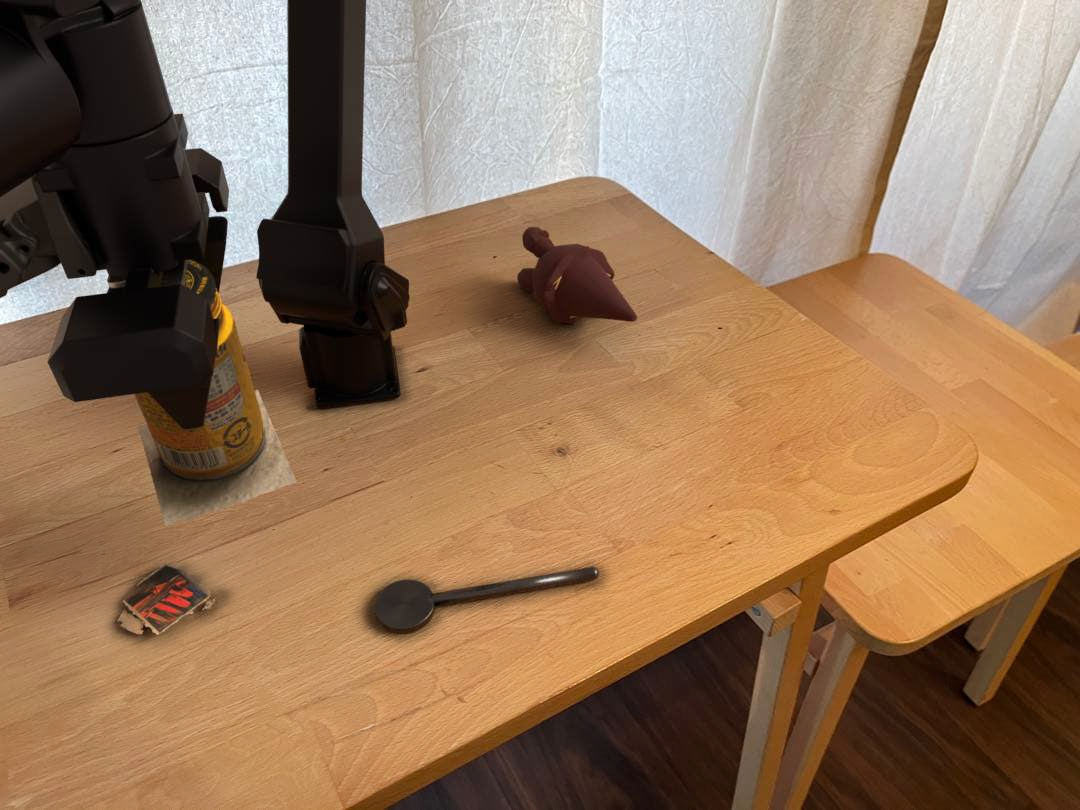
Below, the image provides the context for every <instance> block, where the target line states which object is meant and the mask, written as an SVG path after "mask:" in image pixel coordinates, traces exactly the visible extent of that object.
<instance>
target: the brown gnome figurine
mask: <svg viewBox="0 0 1080 810" xmlns="http://www.w3.org/2000/svg"><path fill="white" fill-rule="evenodd" d="M521 238H522V246H523V247H524V249H525V250H527V251H528V252H529V253H531V254H533V255H534V256H535V257H536V258H537V262H536V264H535V267H523V268H522V269H521V270H520V271H519V272H518V273H517V276H516V278H517V283H518V285H519V286H521V287H522V288H523V289H524V290H526V291H527V292H530V293H534V296H535V299H536V301H537V302H538V304H540V305H541V307H543V308H544V309H545V310H546V311H547V313H549V316H550V318H551V320H553V321H555V322H560V323H565V324H570V325H575V324H577V323H578V322H580V321H581V320H582V319H585V318H589V319H600V320H601V319H602V320H612V321H621V322H636V321H637V319H638V315H637V314H636V312H635V310H634V309H633V307H632V306H631V305H630V303H629V302H628V301H627V300H626V298H625V297H624V295H623V293H622V292H621V291H620V289H619V288H618V287H617V286H616V284H615V283H614V281H613V279H614V277H615V271H614V269H613V268H612V266H611V265H610V263H609V262H608V259H607V256H606V255H605V254H604V252H603V251H602V250H599V249H595V248H592V247H590V246H588V245H584V244H580V243H568V244H560V245H555V244H554V242H553V241H552V240H551V238H550V233H549V232H548V231H547V230H546V229H541V228H540V227H539V226H529V227H526V229H525V230H524V231H523V233H522V235H521Z"/></svg>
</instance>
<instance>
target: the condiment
mask: <svg viewBox="0 0 1080 810" xmlns="http://www.w3.org/2000/svg"><path fill="white" fill-rule="evenodd" d="M216 285H217V284H216V283H215V280H214V277H213V276H212V275H211V273H210V272H209V270H208V269H207V268H206V267H205V266H203V265H201V264H199V263H197V262H196V261H194V260H188V266H187V273H186V280H185V287H187V288H189V289H191V290H192V291H194V292H196V293H198V294H200V295H202V296H203V297H205V298H207V300H208V303H209V306H210V310H211V313H212V316H213V319H215V318H219V320H220V324H219V336H218V348H217V355H216V358H215V363H214V373H213V376H212V380H211V386H210V390H209V396H208V402H207V408H206V414H205V420H204V425H203V426H202V427H199V428H192V429H182V428H181V427H180V426H179V425H178V424H177V423H176V422H175V421H174V420H173V419H172V418H171V417H170V415H169V414H168V413H167V412H166V411H165V410H164V409H163V408H162V407H161V406H160V405H159V404H158V403H157V402H156V401H155V400H154V399H153V398H152V397H151V396H150V395H149V394H148V392H145V393H138V394H134V396H135V399H136V401H137V405H138V406H139V408H140V411H141V414H142V416H143V418H144V421H145V424H142V425H139V426H137V427H138V433H139V435H140V439H141V442H142V446H143V450H144V453H145V457H146V461H147V464H148V468H149V472H150V476H151V481H152V483H153V486H154V490H155V494H156V497H157V501H158V504H159V508H160V513H161V516H162V519H163V522H164V526H165V527H168V526H171V525H174V524H177V523H180V522H186V521H189V520H191V519H195V518H199V517H202V516H205V515H206V514H209V513H214V512H217V511H221V510H223V509H226V508H229V507H231V506H234V505H237V504H240V503H243V504H245V503H246V502H248V501H249V500H252V499H254V498H256V497H259V496H262V495H264V494H268V493H271V492H275V491H277V490H278V489H281V488H284V487H286V486H289V485H290V486H291V485H293V484H296V483H298V482H297V479H296V477H295V474H294V471H293V469H292V466H291V465H290V462H289V460H288V457H287V455H286V453H285V451H284V447H283V446H282V443H281V441H280V439H279V437H278V434H277V432H276V429H275V427H274V425H273V421H272V420H271V418H270V415H269V413H268V411H267V408H266V406H265V403H264V401H263V399H262V396H261V394H260V391H259V389H256V390H255V389H254V384H253V381H252V378H251V372H250V369H249V367H248V362H247V360H246V357H245V355H244V351H243V347H242V342H241V341H240V337H239V334H238V327H237V325H236V320H235V319H234V317H233V314H232V312H231V311H230V309H229V308H228V307H227V306H226V305H225V304H223V302H222V298H221V295H220V292H219V293H218V292H217V289H216ZM124 289H125V287H119V288H110V287H109V286H108V289H107V291H106V293H112V292H120V291H124Z"/></svg>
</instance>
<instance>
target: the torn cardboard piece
mask: <svg viewBox="0 0 1080 810" xmlns="http://www.w3.org/2000/svg"><path fill="white" fill-rule="evenodd" d="M211 596H212V595H211V591H210V590H209V589H208V588H205V587H204V586H202V583H199V582H197V580H195V579H193V578H191V577H190V575H189V574H188V573H187V571H185V570H183V569H181V568H176V567H172V566H170V565H167V564H166V563H165V564H163V565H162V566H160V567H158V568H157V569H156V570H154V571H152V573H149V575H148V576H146V577H144V578H143V579H142V580H141V581H140V582H138V583H135V587H134V588H133V589H132V591H131V592H130V593H129V594H128V596H126V598H124V600H123V601H122V603H124V605H125V606H126V607H127V608H128V610H129V611H130V612H132V613H130V612H129V613H128V610H127V609H124V610H123V612H122V613H121V614H120V616H119V618H118V619H117V622H121V623H120V624H119V627H122V629H123V630H125V629H126V630H127V631H129V632H131V633H134V634H136V635H142V634H143V633H144V632H145V630H143V629H144V627H146V628H150V629H151V631H152V633H153V634H156V636H159V635H161V634H162V633H165V632H166V630H168V629H169V628H170V627H171V626H173V625H175V624H176V623H178V622H179V621H180V619H183V617H185V616H187V615H191V614H194V610H195V609H196V608H197V607H198V606H199V605H202V604H203V603H205V602H206V603H205V605H204V606H203V608H202V610H209V609H210V608H211V607H212V606H213V605H214V604H215V602H216V601H217V600H218V598H220V595H218V596H215V597H214V598H212V599H210V600H208V599H209V598H210V597H211ZM134 615H135V616H134ZM137 617H138V618H137Z"/></svg>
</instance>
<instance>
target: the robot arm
mask: <svg viewBox="0 0 1080 810" xmlns="http://www.w3.org/2000/svg"><path fill="white" fill-rule="evenodd" d="M286 8H287V9H286V10H287V11H286V12H287V14H286V15H287V16H286V17H287V18H286V19H287V21H286V23H287V24H286V25H287V26H286V27H287V35H286V36H287V37H286V39H287V43H286V44H287V193H286V195H285V197H284V198H283V199H282V201H281V203H279V206H278V207H277V208H276V210H275V212H274V214H273V215H272V217H271V218H262V219H261V221H260V223H259V225H258V226H257V230H256V236H257V245H258V265H257V271H256V276H255V277H256V280H258V285H259V288H260V292H261V294H262V298H263V300H264V301H265V302H266V303H268V304H269V306H270V307H271V309H272V311H273V312H274V314H275V316H276V317H277V318H278V321H279V322H280V323H281V324H286V325H289V324H292V325H299V326H301V327H300V328H299V330H298V332H299V333H298V347H299V352H300V358H301V362H302V366H303V367H302V368H303V371H304V375H305V379H306V384H307V387H308V388H309V389H310V390H313V389H314V402H315V406H316V408H318V409H327V408H328V409H329V408H334V407H335V408H336V407H342V406H350V405H351V406H352V405H357V404H358V405H359V404H365V403H373V402H380V401H388V400H394V399H398V398H400V397H401V396H402V392H401V391H402V390H401V385H400V377H399V371H398V370H399V369H398V363H397V355H396V348H395V346H394V345H393V338H392V332H396V330H400V329H402V328H405V327H406V325H407V324H408V317H407V309H408V308H409V304H410V303H409V301H410V300H411V299H410V298H411V295H410V281H409V279H408V278H406V277H405V276H403V275H401V274H400V273H399V272H397V271H395V270H394V269H393V268H391V267H389V266H387V265H386V257H385V237H384V234H383V231H382V230H381V228H380V226H379V224H378V222H377V220H376V218H375V217H374V214H373V213H372V211H371V209H370V207H369V206H368V204H367V202H366V200H365V198H364V197H363V154H364V153H363V152H364V151H363V150H364V149H363V148H364V114H365V113H364V109H365V103H364V102H365V71H366V69H365V67H366V65H365V64H366V63H365V61H366V29H367V28H366V25H367V24H366V23H367V18H366V17H367V0H286ZM187 127H188V126H187V124H186V121H185V117H184V113H183V112H182V113H175V112H174V110H173V107H172V104H171V100H170V97H169V92H168V90H167V86H166V82H165V79H164V75H163V72H162V68H161V64H160V62H159V59H158V55H157V51H156V48H155V44H154V41H153V37H152V34H151V30H150V27H149V23H148V20H147V16H146V13H145V10H144V5H143V3H142V0H0V299H1V298H4V297H6V296H7V294H8V291H9V290H11V289H13V288H15V287H18V286H19V285H22V284H24V283H26V282H28V281H30V280H33V279H35V278H37V277H40V275H43V274H45V273H48V272H50V271H52V270H54V269H55V268H57V267H58V266H59V265H61V267H62V269H63V271H64V274H65V276H66V279H67V280H73V279H80V278H82V279H83V278H89V277H95V276H96V275H97V273H98V271H106V273H107V275H108V276H107V279H106V281H107V284H108V288H109V287H110V288H119V287H125V289H124V291H120V292H112V293H107V292H105V293H95V294H87V295H80V296H76V297H75V298H74V299H73V301H72V302H71V304H70V305H69V306H68V308H67V309H66V310H65V311H64V313H63V314H62V316H61V318H60V322H59V325H58V326H57V327H58V328H57V331H56V333H55V337H54V340H53V343H52V347H51V350H50V352H49V356H48V359H47V364H48V367H49V369H50V371H51V373H52V375H53V377H54V379H55V382H56V383H57V386H58V388H59V390H60V392H61V394H62V396H63V397H64V398H66V399H67V400H70V401H71V402H74V403H80V402H87V401H94V400H100V399H101V400H102V399H108V398H109V399H110V398H115V397H123V396H124V397H125V396H130V395H131V396H132V395H135V394H138V393H145V392H148V394H149V395H150V396H151V397H152V398H153V399H154V400H155V401H156V402H157V403H158V404H159V405H160V406H161V407H162V408H163V409H164V410H165V411H166V412H167V413H168V414H169V415H170V417H171V418H172V419H173V420H174V421H175V422H176V423H177V424H178V425H179V426H180V427H181V428H182V429H192V428H199V427H202V426H203V425H204V420H205V414H206V408H207V402H208V396H209V390H210V386H211V380H212V376H213V373H214V363H215V358H216V355H217V348H218V336H219V324H220V320H219V318H215V319H213V316H212V313H211V310H210V306H209V303H208V300H207V298H205V297H203V296H202V295H200V294H198V293H196V292H194V291H192V290H191V289H189V288H187V287H185V280H186V273H187V266H188V260H194V261H196V262H197V263H199V264H201V265H203V266H205V267H206V268H207V269H208V270H209V272H210V273H211V275H212V276H213V277H214V280H215V283H216V284H217V285H216V289H217V292H218V293H219V294H220V288H221V282H222V275H223V269H224V263H225V254H226V249H227V240H228V226H229V221H228V218H227V217H225V216H222V215H215V216H210V211H211V210H210V206H209V202H208V198H207V195H206V194H208V196H209V199H210V202H211V206H212V208H213V209H214V211H215V212H216V213H217V214H218V213H225V212H228V207H229V197H230V189H229V185H228V181H227V177H226V173H225V169H224V165H223V161H221V159H219V158H217V157H216V156H214V155H213V154H211V153H210V152H208V151H207V150H205V149H203V148H202V147H198V148H197V147H196V148H187V143H188V136H189V131H188V128H187ZM186 148H187V149H186Z"/></svg>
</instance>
